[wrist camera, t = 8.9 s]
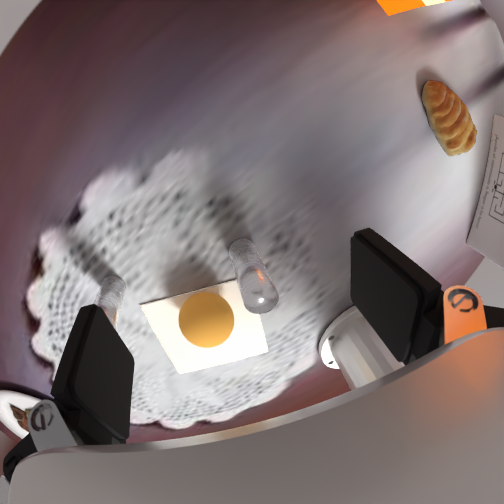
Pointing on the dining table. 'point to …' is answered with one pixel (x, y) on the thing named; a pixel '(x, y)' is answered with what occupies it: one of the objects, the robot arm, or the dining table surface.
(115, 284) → the post left
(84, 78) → the dining table surface
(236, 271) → the post right
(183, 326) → the ball
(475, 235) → the cereal box
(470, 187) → the dining table surface
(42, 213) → the dining table surface
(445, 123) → the pastry
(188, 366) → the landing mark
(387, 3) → the orange juice
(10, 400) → the plated food
